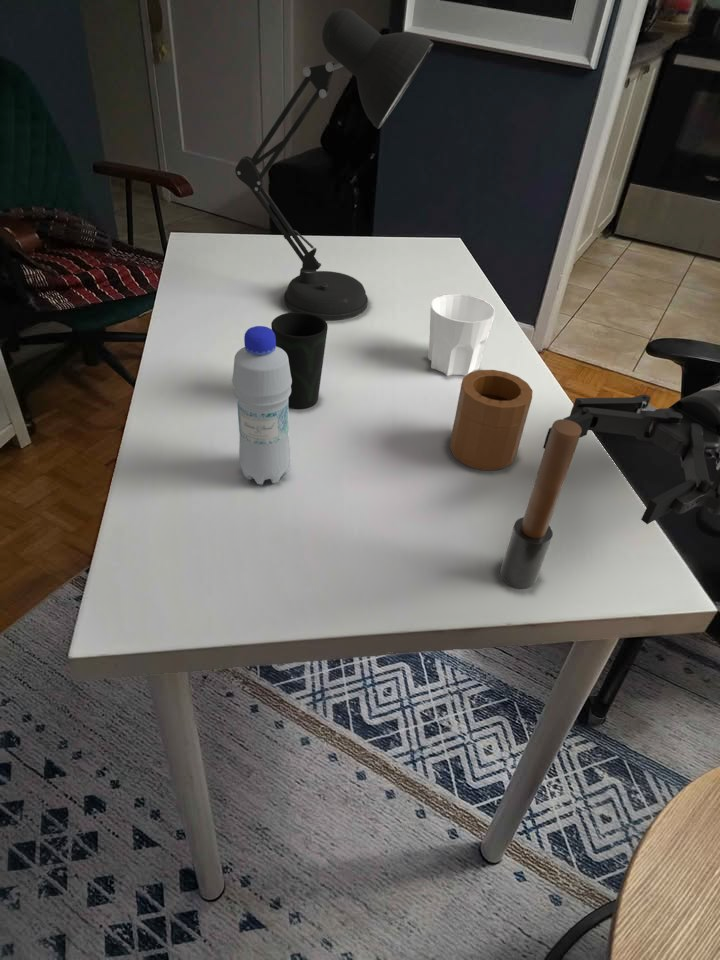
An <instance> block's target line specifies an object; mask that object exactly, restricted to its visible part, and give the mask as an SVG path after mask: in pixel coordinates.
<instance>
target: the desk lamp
mask: <svg viewBox="0 0 720 960" xmlns="http://www.w3.org/2000/svg"><path fill="white" fill-rule="evenodd" d="M321 40H322V43H323V47H324V49H325V50H326V52H327V53H328V54H329V55H330V56H331V57H332V58H333V59H335V60H336V61H337V62H338V63H335V62H334V61H331V60H330V61H329V62H326V63H324V64H320V65H315V66H310V65H308V66H305V67H304V68H303V69H302V75H303V76H304V78H303V80H302V81H301V83H300V84H299V86H298V88H297V89H296V90H295V92H294V94H293V95H292V96H291V98H290V99H289V101H288V103H287V104H286V106H285V108H283V111H282V112H280V115H279V116H278V118H277V119H276V121H275V122H274V123H273V125H272V127H271V128H270V129H269V132H268V133H267V134H266V135H265V138H264V139H263V140H262V142H261V143H260V145H259V147H258V148H257V149H256V151H255V152H254V154H253V156H248V155H247V156H243V157H241V159H240V160H239V161H238V163H237V164H236V166H235V170H234V171H235V175H236V177H237V178H238V179H239V180H240V181H241V182H242V183H243V184H244V185H246V186H247V187H248V188H249V189H250V190H251V192H252V193H253V194H254V196H255V197H256V199H257V200H258V201H259V203H260V204H261V206H262V208H263V209H264V210H265V211H266V213H267V214H268V215H269V217H270V219H271V220H272V222H274V224H275V225H276V227H277V228H278V230H279V231H280V232H281V234H282V236H283V238H284V239H285V240H286V241H287V242H288V244H289V245H290V247H291V248H292V250H293V251H294V253H295V254H296V255H297V257H298V259H300V261H301V266H302V267H301V268H300V270H299V275H297V276H295V277H293V278H292V279H291V280H290V282H289V283H288V285H287V288H286V290H285V292H284V299H283V300H284V301H283V302H284V304H285V306H286V307H287V309H288V310H289V311H290V312H306V313H311V314H314V315H317V316H319V317H321V318H323V319H324V320H325V321H343V320H348V319H352V318H355V317H357V316H359V315H361V314H363V313H364V312H365V311H366V310H367V308H368V305H369V302H368V301H369V299H368V298H369V297H368V295H367V293H366V289H365V287H364V285H363V283H362V282H361V281H360V280H358V279H356V278H355V277H353V276H351V275H348V274H345V273H342V272H337V271H328V270H319V269H320V268H321V267H322V263H321V262H319V261H318V259H317V258H316V257H315V256H316V253H317V249H318V248H317V247H315V246H314V245H313V244H311V242H309V241H308V240H307V239H306V237H304V236H303V235H302V234H300V232H299V231H297V230H295V229H293V228H292V226H291V225H290V223H289V221H288V220H287V219H286V217H285V216H284V214H283V213H282V212H281V211H280V209H279V208H278V206H277V205H276V203H275V201H273V199H272V198H271V196H270V194H269V193H268V192H267V190H266V189H265V187H264V180H263V179H264V178H265V176H266V175H267V173H268V172H269V171H270V169H271V168H272V166H273V165H274V163H275V162H276V161H277V159H278V158H279V156H280V155H281V153H282V152H283V150H284V149H285V147H286V146H287V145H288V143H289V142H290V140H291V139H292V137H293V136H294V135H295V133H296V132H297V130H298V129H299V127H300V126H301V125H302V123H303V121H304V120H305V119H306V117H307V116H308V114H309V113H310V112H311V110H312V109H313V107H314V106H315V104H316V102H317V101H318V99H319V98H321V99H325V98H326V97H328V96H329V88H330V85H331V80H332V77H333V74H334V73H333V72H334V71H336V70H338V69H341V68H343V67H344V68H345V69H346V70H347V71H348V72H349V73H351V74H352V75H353V76H354V77H355V78H356V79H355V80H356V84H357V91H358V95H359V99H360V103H361V107H362V109H363V110H364V113H365V115H366V116H367V118H368V120H369V121H370V122H371V123H372V125H373V126H374V127H375V128H376V129H377V130H380V128H381V127H383V124H384V123H385V122H386V120H387V119H388V118H389V117H390V115H391V113H392V112H393V111H394V109H395V108H396V106H397V104H398V103H399V102H400V100H401V99H402V97H403V96H404V94H405V92H406V91H407V89H408V87H409V86H410V85H411V83H412V81H413V80H414V78H415V77H416V75H417V73H418V72H419V70H420V69H421V67H422V65H423V64H424V62H425V60H426V59H427V58H428V55H429V54H430V52H431V50H432V48H433V46H434V42H433V41H432V40H430V39H429V38H427V37H425V36H423V35H421V34H418V33H414V32H408V31H406V32H393V33H387V34H386V33H385V34H381V33H380V32H379V31H377V30H376V28H374V27H373V26H372V25H370V24H369V23H368V22H366V21H365V20H364V19H363V18H362V17H361V16H359V15H358V14H357V13H356V12H355V11H353V10H352V9H349V8H346V7H344V8H343V7H342V8H337V9H335V10H333V11H332V12H331V13H330V14H328V16H327V18H326V19H325V21H324V24H323V27H322V31H321ZM309 83H311V84H312V85H313V87H314V88H315V89H316V91H315V92H314V94H313V96H312V97H311V98H310V100H309V102H308V103H307V104H306V105H305V107H304V108H303V110H302V111H301V113H300V114H299V116H298V117H297V119H296V120H295V122H293V123H294V124H293V125H292V126H291V127H290V129H289V131H288V132H287V134H286V135H285V137H284V138H283V139H282V140H281V141H280V142H278V143H277V144H276V145H274V146H273V147H272V148H270V149H268V151H266V152H265V153H263V152H264V151H265V149H266V147H267V146H268V144H269V143H270V141H271V140H272V139H273V137H274V136H275V134H276V133H277V131H278V129H279V128H280V126H281V125H282V123H283V122H284V121H285V119H286V118H287V116H288V114H289V113H290V112H291V110H292V108H294V105H295V104H296V102H297V101H298V100H299V98H300V97H301V95H302V93H303V92H304V90H305V89H306V87H307V86H308V84H309ZM271 155H272V156H271ZM270 156H271V157H270ZM269 157H270V159H269V160H268V162H266V165H265V166H264V167H263V169H262V170H261V171H259V169H258V167H257V166H258V165H260V163H262V162H263V161H264V160H266V159H267V158H269ZM302 241H304V243H306V245H308V246H309V247H310V248H311V250H310V251H309V250H308V249H307V247H306V246H305V245H304V243H303V242H302Z"/></svg>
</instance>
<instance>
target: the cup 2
mask: <svg viewBox="0 0 720 960" xmlns="http://www.w3.org/2000/svg"><path fill="white" fill-rule="evenodd" d="M429 311H430V313H429V315H430V316H429V339H428V340H429V341H428V353H427V356H428V357H427V359H428V360H429V361H430V362H431V364H430V369H433V370H437V371H439V372H441V373H443V374H444V375H446V377H449V376H464V377H465V376H466V375H468V374H469V373H471V372H474V371H478V370H480V369H479V368H480V365H481V362H482V359H483V356H484V352H485V349H486V345H487V341H488V338H489V335H490V332H491V329H492V325H493V321H494V319H495V315H496V309H495V307H494V306H493V305H492V304H491V303H490V302H488V301H486V300H485V299H482V298H480V297H478V296H474V295H470V294H462V293H452V294H451V293H448V294H443V295H439V296H437V297H435V298H433V299H432V300H431V302H430V310H429Z"/></svg>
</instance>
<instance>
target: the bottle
mask: <svg viewBox="0 0 720 960" xmlns="http://www.w3.org/2000/svg"><path fill="white" fill-rule="evenodd" d="M243 337H244V338H243V341H244V346H243V347H242V348H240V349H238V351H236V353H235V355H234V358H233V369H232V379H231V383H232V386H233V394H234V396H235V398H236V402H237V417H238V432H239V446H238V447H239V448H238V455H239V456H238V457H239V458H238V459H239V465H240V469H241V471H242V473H243V475H244V477H245V478H246V479H247V480H253V479H254V481H255V482H256V484H257V485H264V484H265V483H264V482H265V480H270V482H271V483H272V484H277V483H278V482H279V481H280V479H281V478H282V477H285V476H287V474H288V473H289V472H290V471H289V470H290V466H291V446H290V445H291V443H290V436H289V435H290V433H289V431H290V428H289V427H290V425H289V424H290V423H289V422H290V421H289V415H290V414H289V413H290V411H289V408H290V407H288V397H289V396H290V394H291V384H292V378H291V373H290V367H289V360H288V356H287V354H286V352H285V351H284V350H282V349H281V348H279V347H276V338H275V334H274V332H273V331H272V328H270V327H268V326H265V325H256V326H252V327H249V328H248V329H247V330H246V331H245V333H244V336H243Z"/></svg>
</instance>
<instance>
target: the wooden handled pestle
mask: <svg viewBox="0 0 720 960" xmlns="http://www.w3.org/2000/svg"><path fill="white" fill-rule="evenodd" d="M551 427H552V428H551ZM551 427H550V428H551V431H550V435H549V438H548V441H547V444H546V447H545V449H544V451H543V453H542V457H541V460H540V464H539V467H538V470H537V472H536V476H535V479H534V483H533V486H532V490H531V493H530V496H529V498H528V502H527V505H526V508H525V512H524V515H523V516H522V517H520V518H518V519H516V520H515V522H514V524H513V527H512V530H511V534H510V537H509V541H508V544H507V547H506V549H505V554H504V556H503V559H502V564H501V566H500V570H499V571H500V572H499V573H500V576H501V578H502V580H503V581H504V582H505V583H506V584H507V585H509V586H511V587H512V588H516V589H519V590H520V589H521V590H523V589H529V588H532V587H534V585H535V584H536V582H537V581H538V577H539V575H540V572H541V569H542V566H543V564H544V561H545V558H546V555H547V553H548V550H549V547H550V544H551V542H552V539H553V536H554V535H553V534H554V533H553V529H552V527H551V526H550V524H551V520H552V517H553V515H554V511H555V509H556V506H557V504H558V500H559V497H560V495H561V492H562V489H563V486H564V483H565V480H566V477H567V474H568V471H569V469H570V466H571V463H572V461H573V457H574V454H575V452H576V448H577V446H578V443H579V440H580V438H579V437H580V435H581V432H582V430H581V427H580V426H579V425H578V424H577V423H575V422H573V421H570V420H566V419H564V418H563V419H557V420H555V421H554V422H552V425H551Z"/></svg>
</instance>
